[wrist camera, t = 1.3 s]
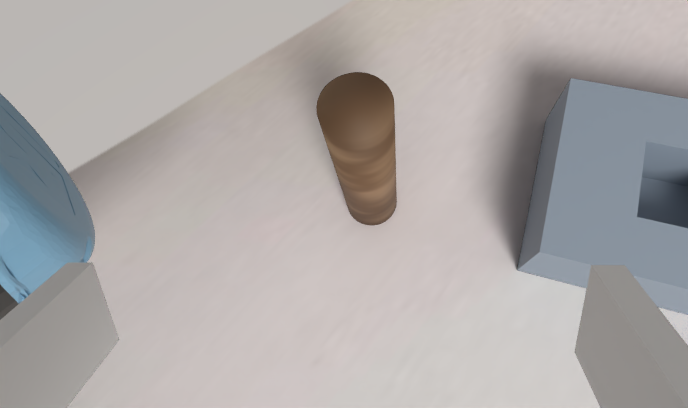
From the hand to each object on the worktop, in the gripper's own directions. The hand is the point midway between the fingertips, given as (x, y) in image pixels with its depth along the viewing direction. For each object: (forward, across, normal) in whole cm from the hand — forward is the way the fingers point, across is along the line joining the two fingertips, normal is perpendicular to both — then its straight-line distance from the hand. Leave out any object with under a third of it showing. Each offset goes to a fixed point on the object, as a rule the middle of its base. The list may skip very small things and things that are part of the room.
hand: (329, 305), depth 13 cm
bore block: (+24, +20, -10) cm, 32 cm away
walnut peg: (+24, 0, -8) cm, 26 cm away
